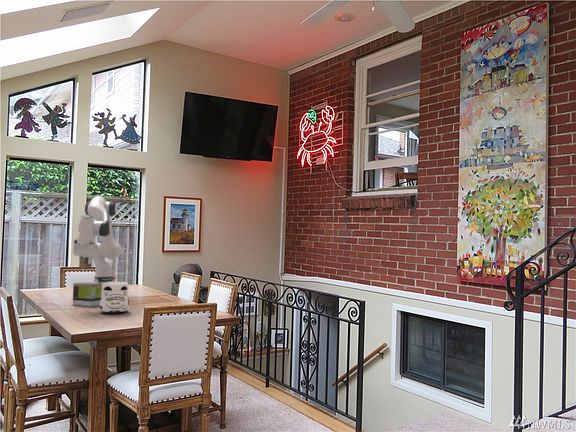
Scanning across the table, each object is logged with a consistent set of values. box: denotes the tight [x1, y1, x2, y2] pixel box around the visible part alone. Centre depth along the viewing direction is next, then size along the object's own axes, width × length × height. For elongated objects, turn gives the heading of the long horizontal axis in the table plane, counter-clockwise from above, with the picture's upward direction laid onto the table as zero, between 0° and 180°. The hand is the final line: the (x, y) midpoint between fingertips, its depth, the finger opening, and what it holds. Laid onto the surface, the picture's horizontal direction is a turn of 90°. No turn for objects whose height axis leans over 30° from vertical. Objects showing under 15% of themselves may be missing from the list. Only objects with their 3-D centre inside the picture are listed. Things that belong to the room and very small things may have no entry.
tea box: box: [72, 281, 102, 308], centre depth 324 cm, size 15×10×15 cm, turn 71°
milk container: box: [99, 281, 130, 315], centre depth 302 cm, size 17×17×18 cm
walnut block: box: [78, 256, 93, 269], centre depth 307 cm, size 5×5×6 cm
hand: (85, 263), depth 307 cm, fingers closed on walnut block, 5 cm apart
